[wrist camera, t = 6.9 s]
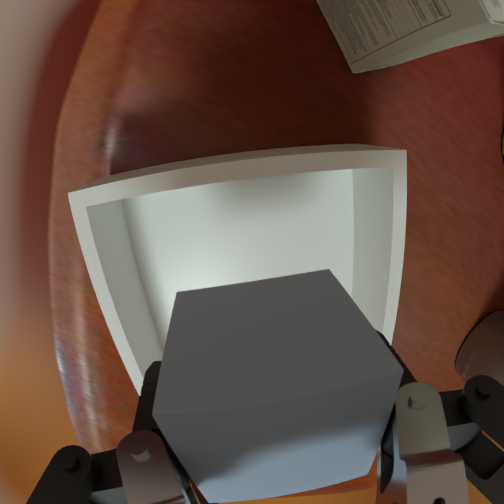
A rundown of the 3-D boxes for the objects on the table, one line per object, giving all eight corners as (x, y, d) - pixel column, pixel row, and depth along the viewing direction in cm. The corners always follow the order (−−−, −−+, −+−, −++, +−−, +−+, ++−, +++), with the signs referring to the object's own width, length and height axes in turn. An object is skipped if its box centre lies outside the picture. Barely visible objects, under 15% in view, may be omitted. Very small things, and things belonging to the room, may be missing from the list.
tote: (357, 143, 18) (406, 149, 12) (347, 390, 26) (368, 435, 20) (109, 175, 17) (67, 193, 12) (183, 415, 25) (179, 465, 20)
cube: (329, 268, 10) (403, 369, 5) (326, 376, 12) (367, 474, 7) (176, 291, 10) (151, 414, 5) (207, 395, 12) (208, 503, 7)
